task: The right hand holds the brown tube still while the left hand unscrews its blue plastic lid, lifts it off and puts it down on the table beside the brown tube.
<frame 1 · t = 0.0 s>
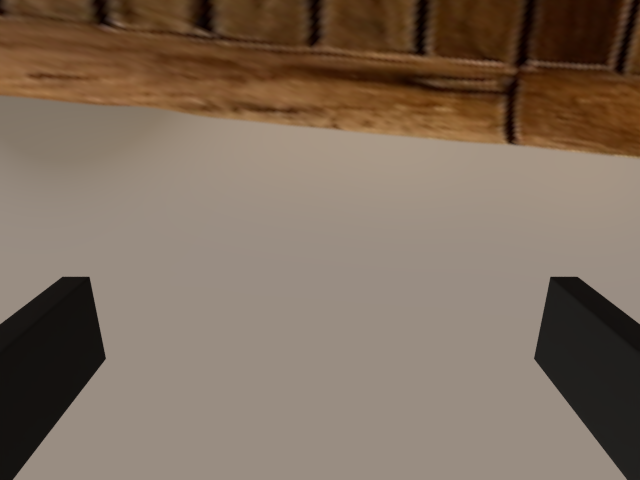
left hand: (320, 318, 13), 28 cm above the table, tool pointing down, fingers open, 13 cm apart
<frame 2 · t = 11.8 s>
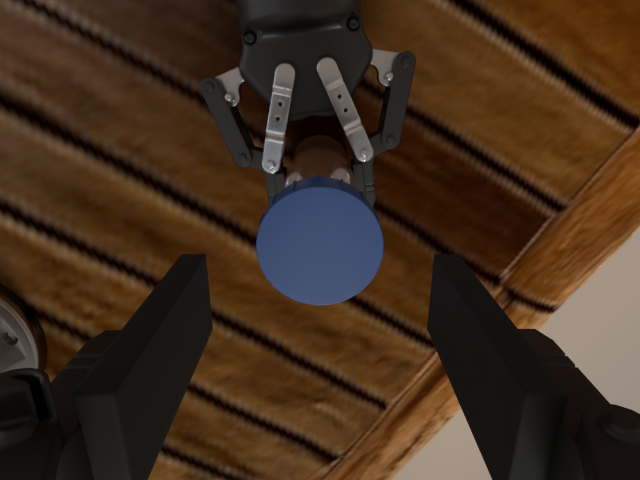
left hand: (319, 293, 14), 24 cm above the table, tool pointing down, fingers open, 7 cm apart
right hand: (324, 215, 31), fingers closed on brown tube, 4 cm apart
lid: (319, 246, 18), point 19 cm above the table, screwed on, not yet turned
brown tube: (320, 162, 37), on the table, touching right hand
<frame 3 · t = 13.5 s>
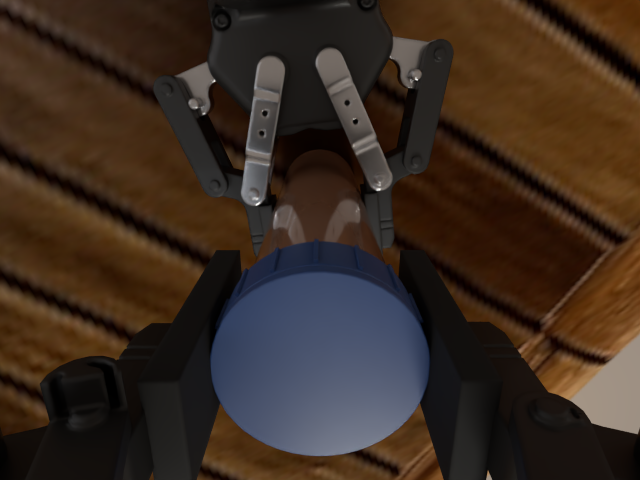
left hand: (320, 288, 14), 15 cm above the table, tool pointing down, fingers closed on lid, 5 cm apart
right hand: (326, 258, 24), fingers closed on brown tube, 4 cm apart
lid: (320, 363, 11), point 19 cm above the table, screwed on, not yet turned, touching left hand
brown tube: (319, 184, 29), on the table, touching right hand
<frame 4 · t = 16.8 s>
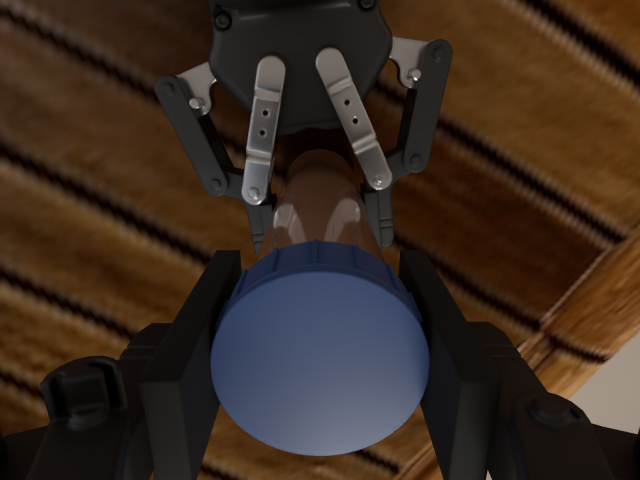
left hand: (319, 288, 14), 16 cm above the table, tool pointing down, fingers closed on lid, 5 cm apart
right hand: (326, 257, 24), fingers closed on brown tube, 4 cm apart
lid: (320, 362, 11), point 20 cm above the table, turned 91° so far, risen 0.1 cm, still on its thread, touching left hand
brown tube: (320, 183, 29), on the table, touching right hand
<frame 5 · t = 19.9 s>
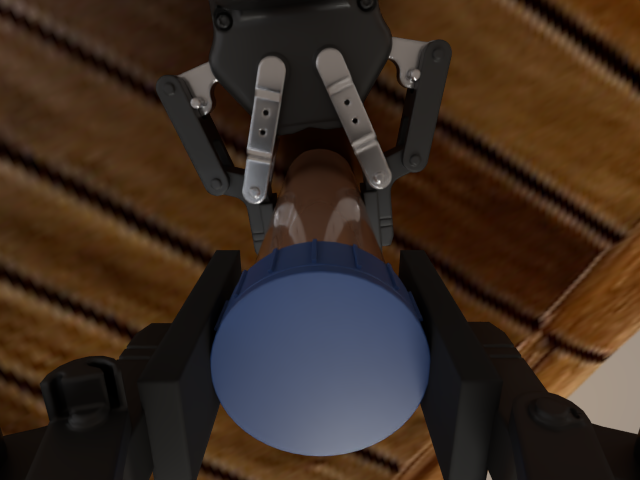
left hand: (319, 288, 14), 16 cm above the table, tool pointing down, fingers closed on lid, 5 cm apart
right hand: (326, 256, 24), fingers closed on brown tube, 4 cm apart
lid: (320, 363, 11), point 20 cm above the table, turned 181° so far, risen 0.3 cm, still on its thread, touching left hand
brown tube: (320, 183, 29), on the table, touching right hand
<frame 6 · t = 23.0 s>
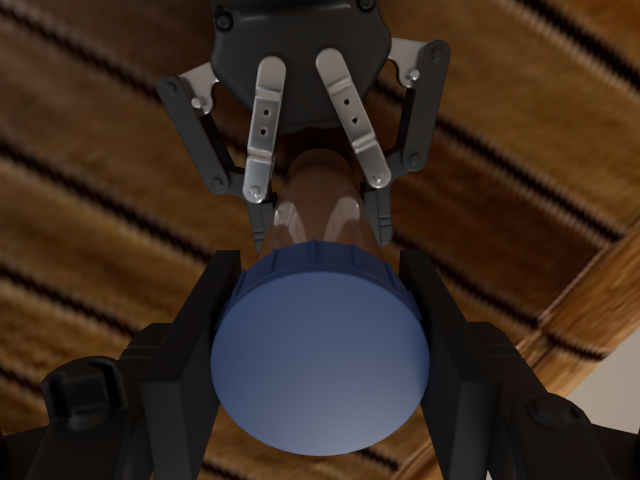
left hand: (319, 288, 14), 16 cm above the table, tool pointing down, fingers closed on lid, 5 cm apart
right hand: (326, 255, 24), fingers closed on brown tube, 4 cm apart
lid: (320, 362, 11), point 20 cm above the table, turned 272° so far, risen 0.5 cm, still on its thread, touching left hand
brown tube: (320, 182, 29), on the table, touching right hand
when the left hand's fingers open (0 cm above the table, at t = 30.2 s): lid drops 3 cm, point 2 cm above the table.
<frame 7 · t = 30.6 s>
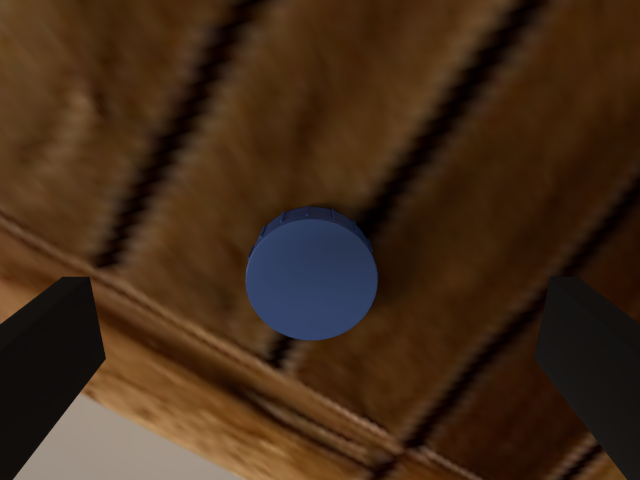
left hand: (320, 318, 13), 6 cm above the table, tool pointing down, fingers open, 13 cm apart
lid: (311, 279, 18), point 2 cm above the table, off its thread
when the right hand's fingers open (7 cm above the table, at t = 30.8 s): brown tube stays where it is, on the table.
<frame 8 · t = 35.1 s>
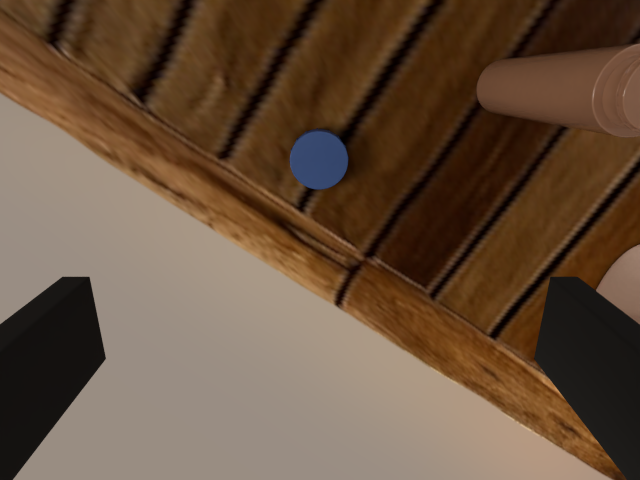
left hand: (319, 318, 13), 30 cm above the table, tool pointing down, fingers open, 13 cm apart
lid: (319, 160, 40), point 2 cm above the table, off its thread
brown tube: (502, 86, 39), on the table
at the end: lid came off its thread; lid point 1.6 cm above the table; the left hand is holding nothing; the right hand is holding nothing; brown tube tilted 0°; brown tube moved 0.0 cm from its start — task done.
